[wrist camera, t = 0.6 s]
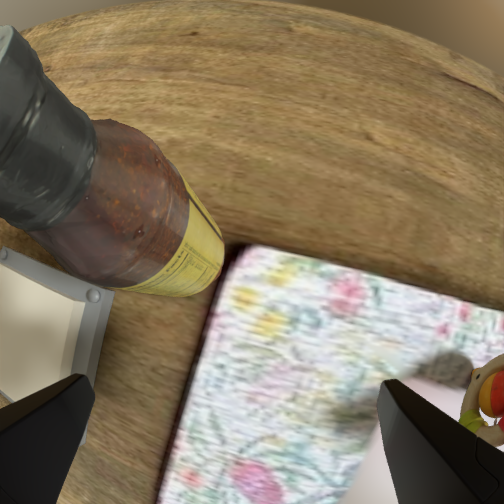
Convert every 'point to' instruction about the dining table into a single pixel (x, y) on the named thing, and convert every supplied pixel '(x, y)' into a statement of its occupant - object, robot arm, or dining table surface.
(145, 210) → the sauce bottle
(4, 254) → the tower base
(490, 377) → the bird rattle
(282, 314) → the dining table surface
